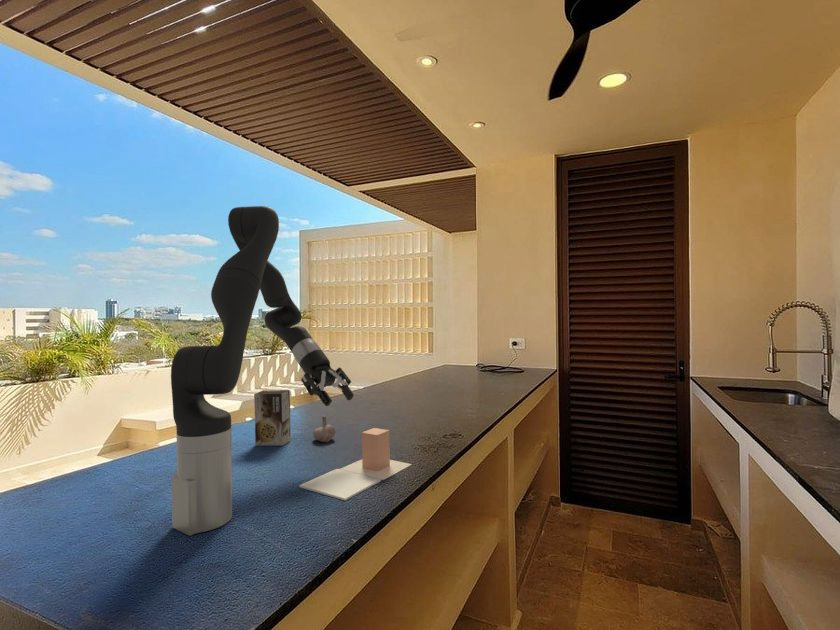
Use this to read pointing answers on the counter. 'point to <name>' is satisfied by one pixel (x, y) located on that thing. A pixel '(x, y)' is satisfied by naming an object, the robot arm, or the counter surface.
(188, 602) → the counter surface
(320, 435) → the garlic bulb
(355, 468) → the cream tile
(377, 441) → the block
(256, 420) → the coffee box
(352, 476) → the beige board
